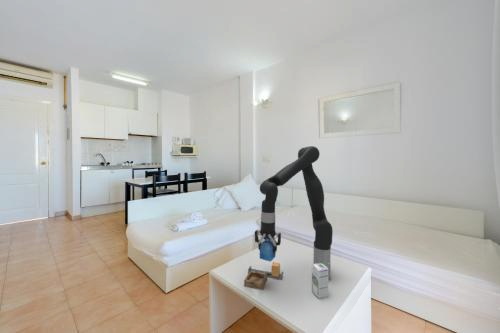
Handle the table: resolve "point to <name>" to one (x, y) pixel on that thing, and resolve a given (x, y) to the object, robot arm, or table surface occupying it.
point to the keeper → (255, 280)
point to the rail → (267, 274)
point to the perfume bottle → (267, 250)
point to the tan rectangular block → (274, 269)
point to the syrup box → (320, 280)
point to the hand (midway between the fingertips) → (267, 251)
